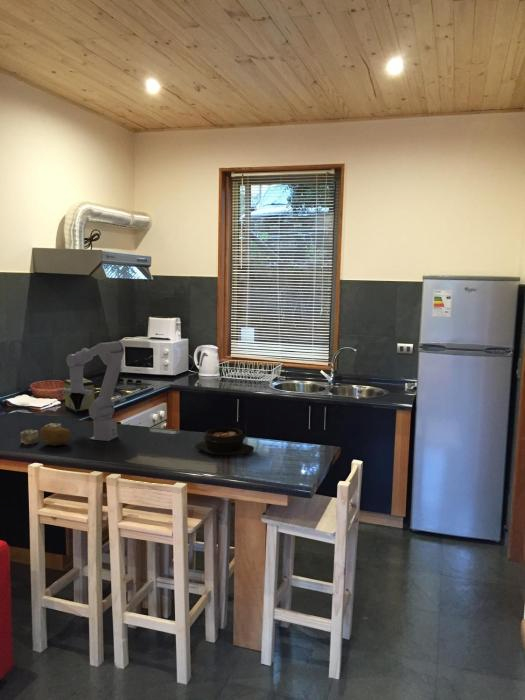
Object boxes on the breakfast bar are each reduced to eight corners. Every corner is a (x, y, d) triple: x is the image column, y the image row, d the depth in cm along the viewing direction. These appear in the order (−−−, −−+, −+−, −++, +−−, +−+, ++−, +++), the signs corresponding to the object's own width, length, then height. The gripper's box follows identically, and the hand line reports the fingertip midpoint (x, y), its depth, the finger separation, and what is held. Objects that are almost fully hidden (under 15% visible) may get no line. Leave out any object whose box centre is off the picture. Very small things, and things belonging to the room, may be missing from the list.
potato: (61, 450, 233) (61, 431, 232) (34, 446, 238) (33, 428, 237) (77, 443, 243) (76, 425, 241) (50, 440, 247) (50, 422, 246)
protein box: (83, 405, 313) (82, 377, 311) (95, 410, 301) (94, 381, 299) (64, 408, 307) (63, 379, 305) (76, 413, 295) (75, 384, 293)
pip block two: (61, 434, 256) (61, 423, 256) (54, 437, 252) (54, 426, 251) (51, 433, 258) (51, 422, 257) (44, 436, 253) (44, 425, 252)
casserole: (186, 454, 230) (186, 434, 229) (208, 442, 247) (208, 423, 245) (242, 462, 220) (242, 441, 219) (261, 449, 237) (261, 429, 236)
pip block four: (38, 441, 246) (38, 430, 245) (31, 444, 241) (30, 433, 240) (28, 440, 247) (28, 429, 246) (21, 443, 242) (20, 432, 241)
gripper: (95, 379, 260) (96, 408, 262) (67, 377, 264) (69, 406, 266) (86, 382, 253) (88, 412, 255) (58, 380, 257) (59, 409, 259)
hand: (77, 409), depth 260 cm, fingers closed
